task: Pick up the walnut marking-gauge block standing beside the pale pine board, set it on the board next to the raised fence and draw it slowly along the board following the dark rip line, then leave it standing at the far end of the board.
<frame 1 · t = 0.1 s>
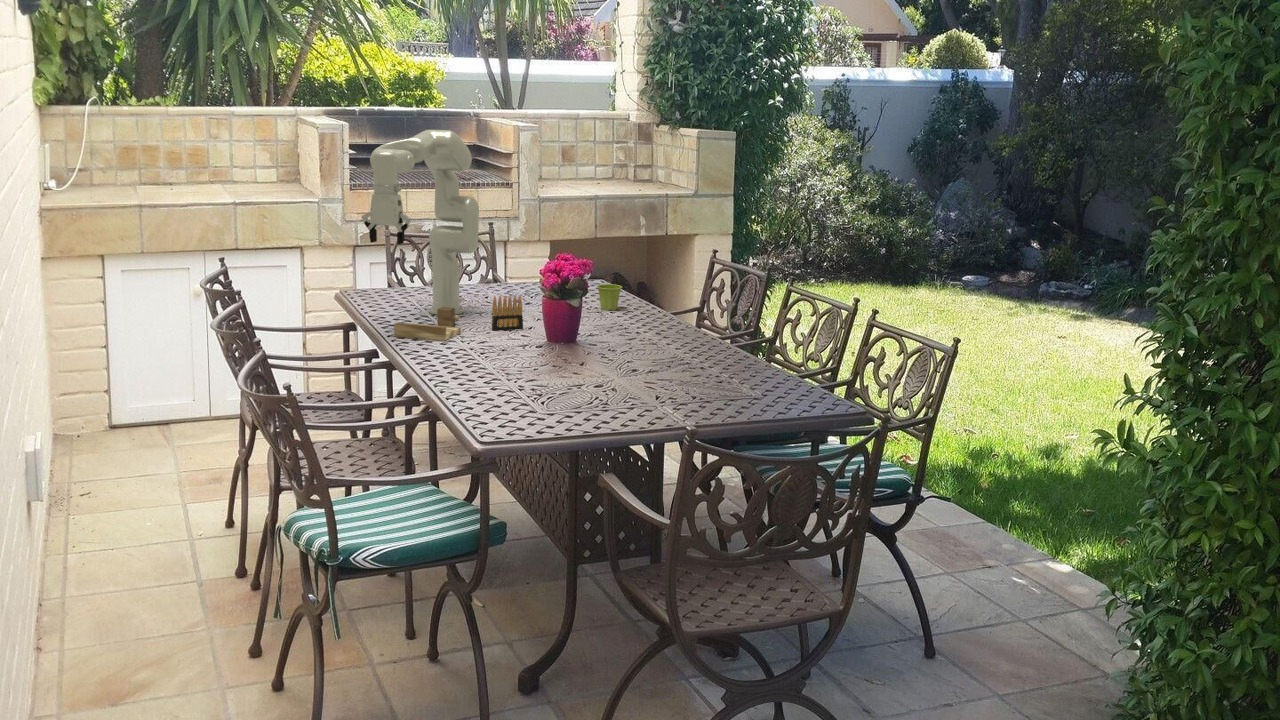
hand: (387, 242, 415), 31 cm above the table, tool pointing down, fingers open, 9 cm apart
ammunition clip: (507, 330, 437), on the table
board: (427, 335, 426), on the table
gauge: (446, 328, 437), on the table
plant pot: (609, 309, 478), on the table
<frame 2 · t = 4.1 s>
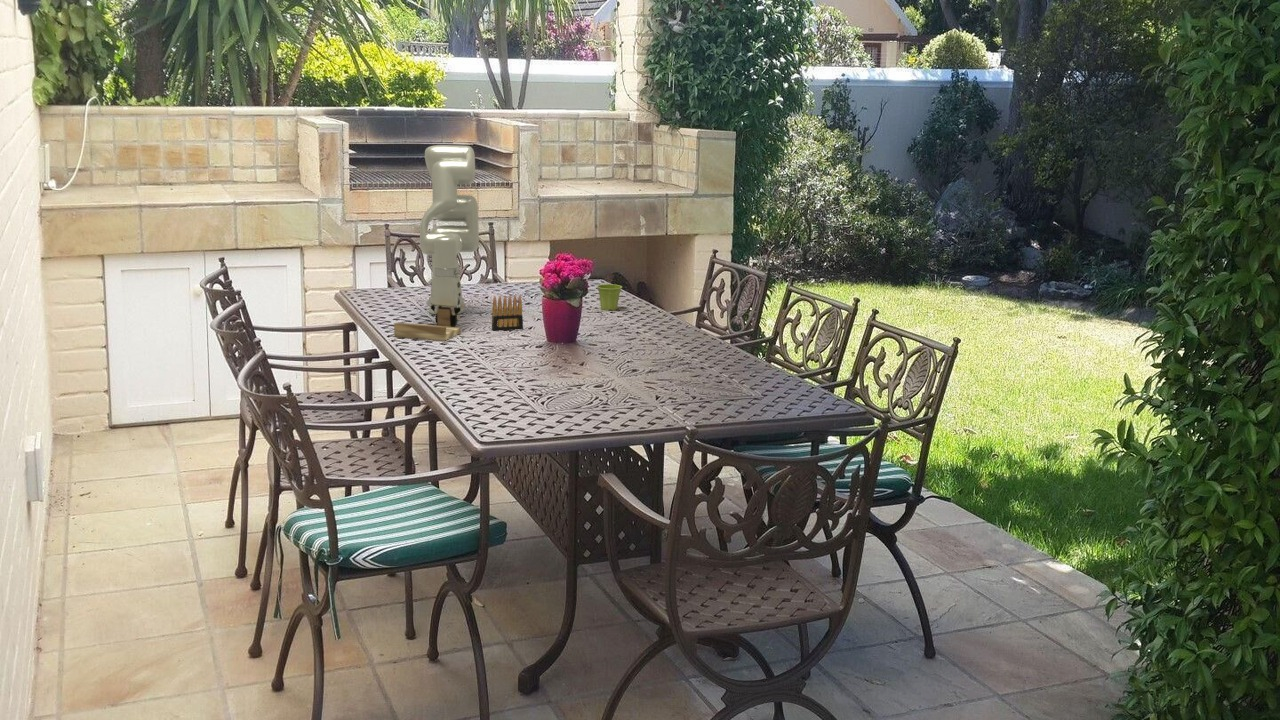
hand: (446, 324, 437), 1 cm above the table, tool pointing down, fingers closed on gauge, 4 cm apart
gauge: (446, 328, 437), on the table, touching gripper
everything else where it was.
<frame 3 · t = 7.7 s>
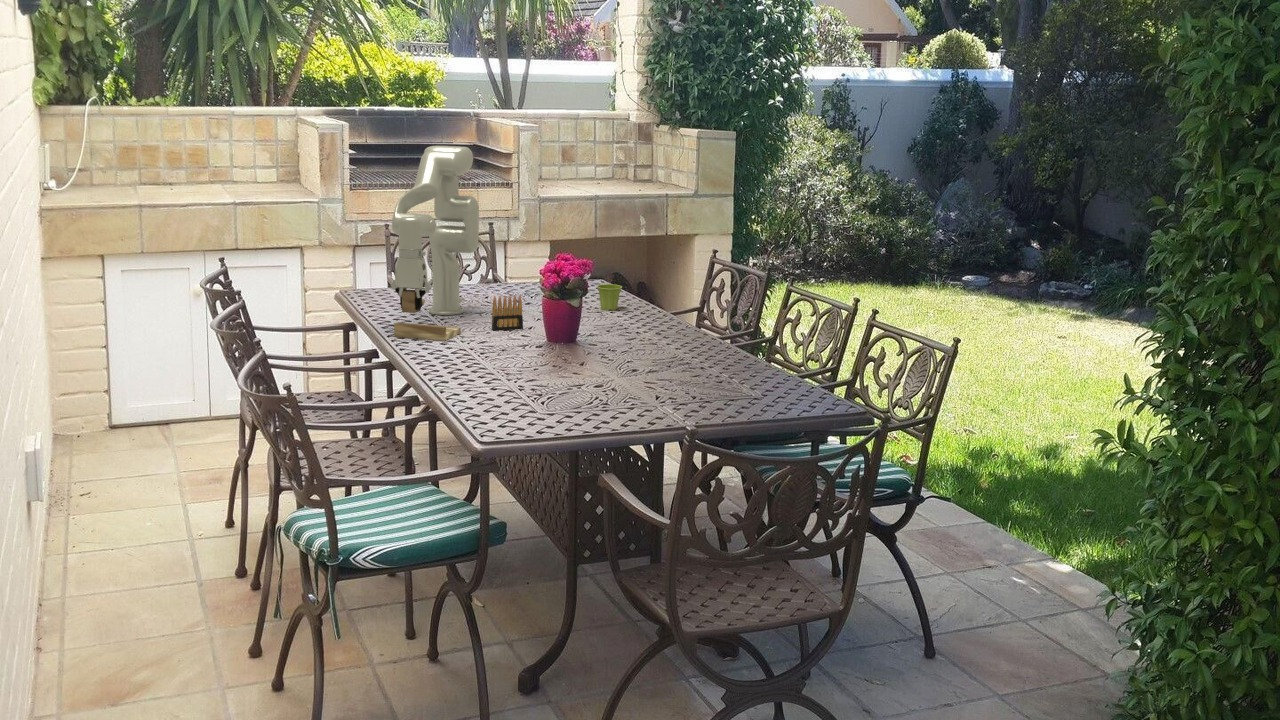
hand: (411, 308, 425), 9 cm above the table, tool pointing down, fingers closed on gauge, 4 cm apart
gauge: (411, 311, 425), point 8 cm above the table, touching gripper
everything else where it was.
when the fingers open (3 cm above the table, at t = 11.6 s): gauge stays where it is, resting on board.
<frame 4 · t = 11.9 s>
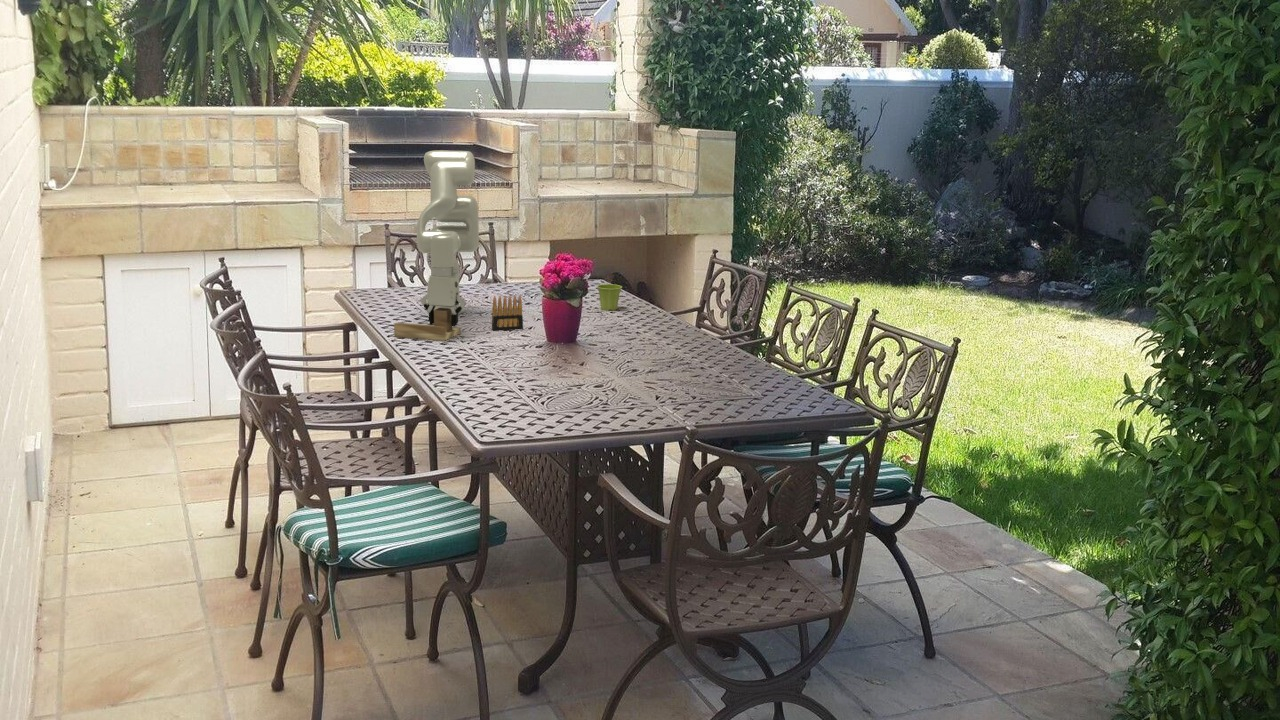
hand: (443, 324, 424), 4 cm above the table, tool pointing down, fingers open, 7 cm apart
gauge: (443, 330, 424), point 2 cm above the table, touching board
everything else where it was.
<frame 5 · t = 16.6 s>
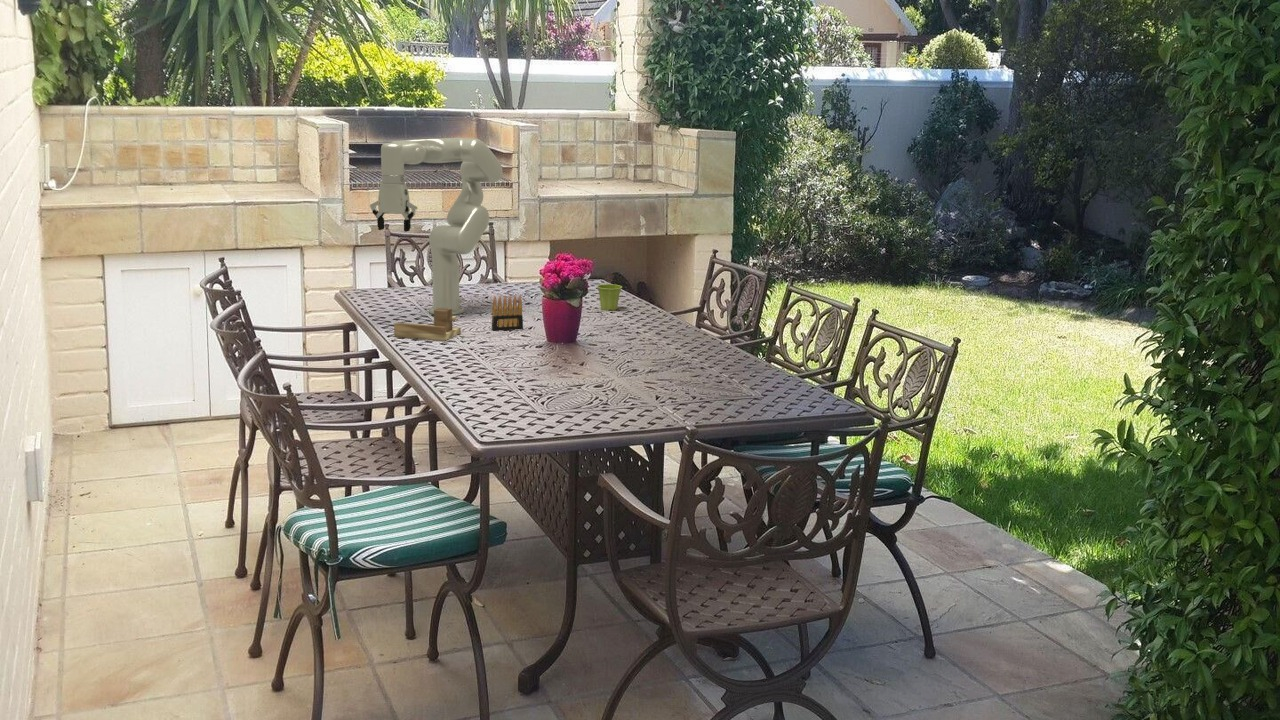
hand: (394, 230, 437), 32 cm above the table, tool pointing down, fingers open, 9 cm apart
nothing on the table moved.
at the end: gauge inside the target area on the board (0.3 cm from its centre), point 2.1 cm above the board's base; gauge tilted 2°; the gripper is holding nothing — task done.
